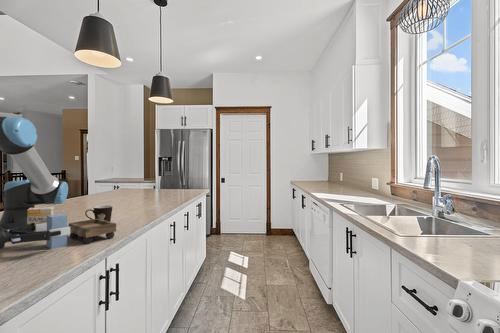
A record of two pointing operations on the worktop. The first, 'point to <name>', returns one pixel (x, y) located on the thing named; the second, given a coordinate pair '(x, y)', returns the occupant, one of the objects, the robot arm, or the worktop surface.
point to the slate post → (55, 223)
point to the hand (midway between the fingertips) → (62, 227)
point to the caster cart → (92, 229)
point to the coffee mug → (102, 212)
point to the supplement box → (39, 215)
